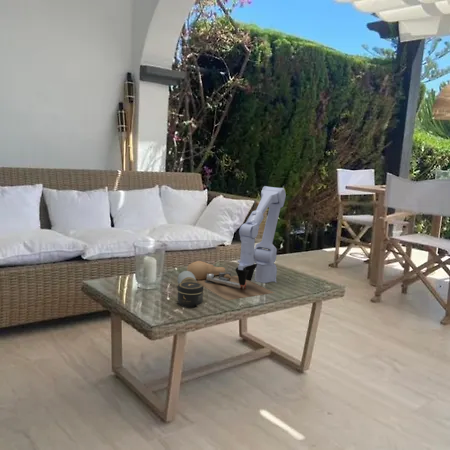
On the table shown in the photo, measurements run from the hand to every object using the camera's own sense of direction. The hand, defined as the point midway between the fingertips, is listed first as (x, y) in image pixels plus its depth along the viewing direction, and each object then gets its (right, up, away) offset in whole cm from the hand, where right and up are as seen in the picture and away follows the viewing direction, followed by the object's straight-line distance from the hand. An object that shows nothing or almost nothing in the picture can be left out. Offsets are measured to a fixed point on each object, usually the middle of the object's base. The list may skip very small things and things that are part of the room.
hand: (245, 282), depth 211 cm
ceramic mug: (-24, -3, -3) cm, 24 cm away
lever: (-8, -1, +3) cm, 9 cm away
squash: (-18, 0, +16) cm, 24 cm away
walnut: (-8, -1, +10) cm, 13 cm away
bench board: (-5, -3, +2) cm, 6 cm away
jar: (-23, -6, -19) cm, 30 cm away
